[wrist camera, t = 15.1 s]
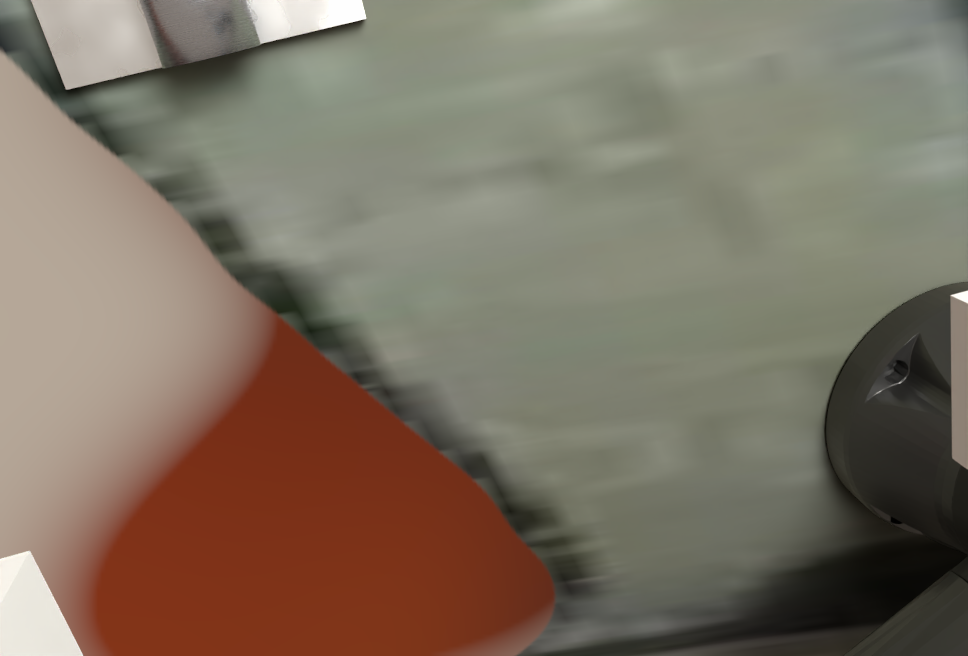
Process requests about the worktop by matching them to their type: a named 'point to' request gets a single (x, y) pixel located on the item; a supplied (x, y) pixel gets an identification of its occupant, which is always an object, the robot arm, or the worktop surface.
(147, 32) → the hinge leaf
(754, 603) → the worktop surface
